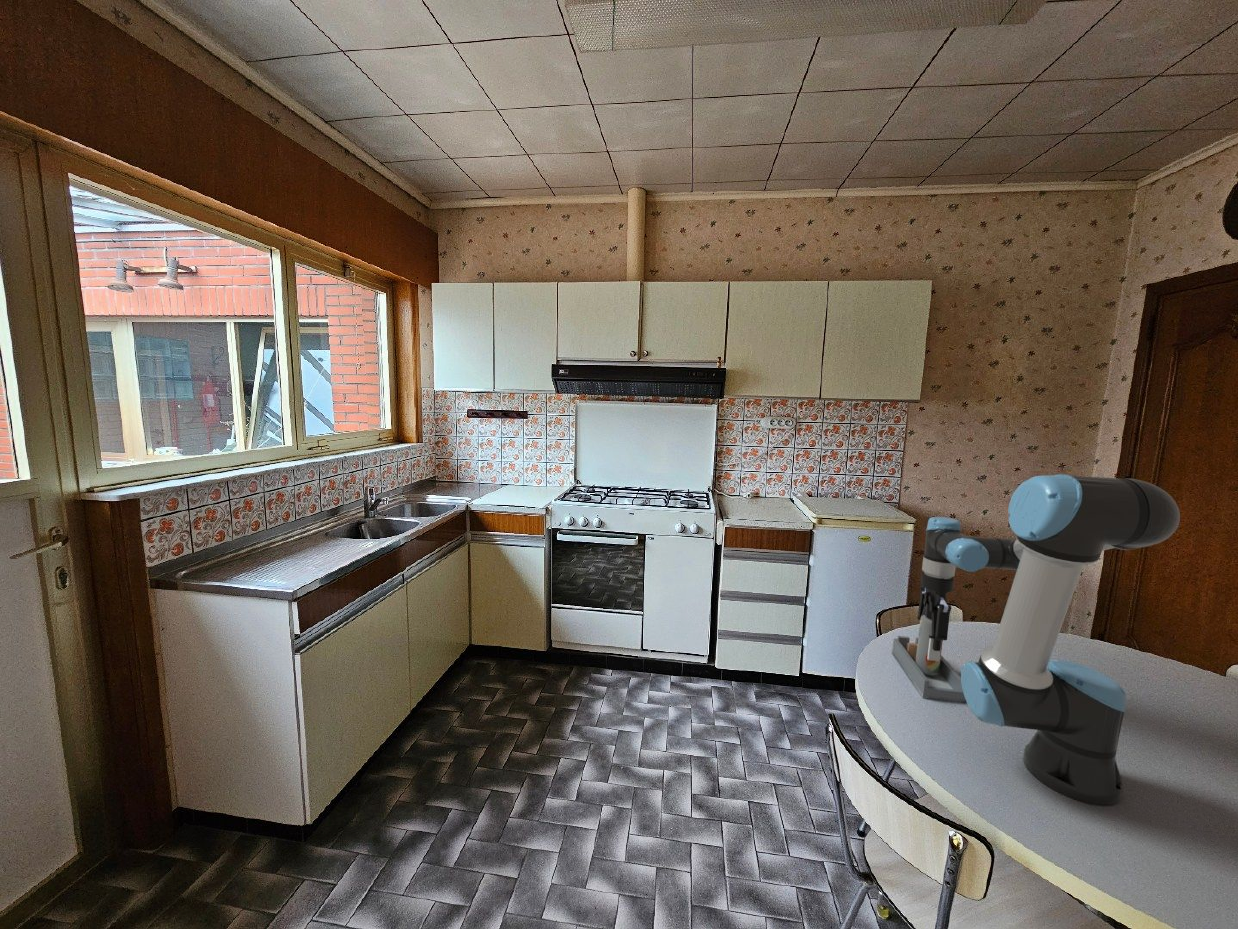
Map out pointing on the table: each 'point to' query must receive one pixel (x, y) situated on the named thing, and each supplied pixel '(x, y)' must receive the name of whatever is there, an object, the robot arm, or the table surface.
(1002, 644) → the robot arm
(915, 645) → the pusher
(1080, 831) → the table surface
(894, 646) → the tray
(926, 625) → the lotion bottle
